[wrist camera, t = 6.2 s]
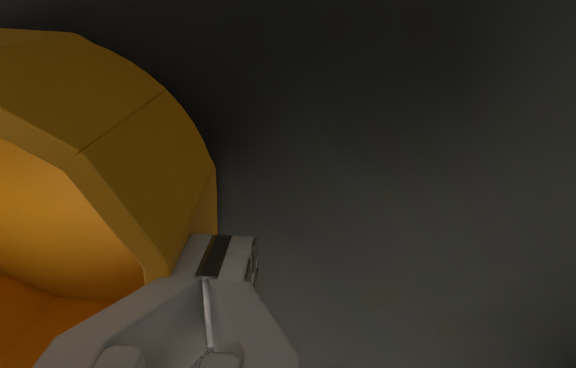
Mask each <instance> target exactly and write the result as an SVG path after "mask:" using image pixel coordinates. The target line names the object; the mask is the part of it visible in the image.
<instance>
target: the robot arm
mask: <svg viewBox="0 0 576 368" xmlns="http://www.w3.org/2000/svg"><path fill="white" fill-rule="evenodd" d="M257 256H258V240H257V238H256V237H254V236H232V235H220V234H207V233H192V234H190V236H189V238H188V240H187V242H186V244H185V246H184V248H183V250H182V252H181V254H180V257H179V259H178V261H177V263H176V265H175V267H174V269H173V271H172V274H171V276H169V277H159V278H157V279H155V280H154V281H152V282H150V283H148V284H147V285H145V286H143V287H141V288H140V289H138V290H136V291H135V292H133V293H131V294H129V295H128V296H126V297H124V298H122V299H121V300H119V301H117V302H115V303H114V304H112V305H110V306H109V307H107V308H105V309H103V310H102V311H100V312H98V313H96V314H95V315H93V316H91V317H90V318H88V319H86V320H84V321H83V322H81V323H79V324H77V325H76V326H74V327H72V328H70V329H69V330H67V331H65V332H64V333H62V334H60V335H58V336H57V337H55V338H54V339H53V340H52V342H51V343H50V344H49V346H48V347H47V348H46V350H45V351H44V352H43V354H42V355H41V356H40V357H39V359H38V360H37V361H36V363H35V364H34V365H33V367H32V368H189V367H190V366H191V365H192V364H193V363H194V362H195V361H196V360H197V359H198V358H199V357H200V356H201V355H202V354H203V353H204V352H205V351H206V350H207V347H210V348H213V349H214V352H210V353H208V354H207V355H205V356H204V357H202V360H201V363H200V366H199V368H300V355H299V354H298V352H297V351H296V349H295V348H294V346H293V345H292V343H291V342H290V340H289V339H288V338H287V336H286V335H285V333H284V332H283V330H282V329H281V327H280V326H279V324H278V323H277V321H276V320H275V318H274V317H273V315H272V314H271V312H270V311H269V309H268V308H267V306H266V305H265V303H264V302H263V300H262V299H261V297H260V296H259V294H258V293H257V286H258V269H257V267H256V261H257Z"/></svg>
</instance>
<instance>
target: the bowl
mask: <svg viewBox="0 0 576 368" xmlns="http://www.w3.org/2000/svg"><path fill="white" fill-rule="evenodd" d="M214 166H215V164H214V163H213V161H212V160H211V158H210V156H209V153H208V150H207V148H206V145H205V143H204V141H203V139H202V137H201V135H200V133H199V132H198V130H197V128H196V126H195V124H194V123H193V121H192V120H191V119H190V117H189V116H188V114H187V113H186V112H185V110H184V109H183V107H182V106H181V105H180V104H179V103H178V102H177V101H176V99H175V98H174V97H173V96H172V95H171V94H170V93H169V92H168V90H166V89H165V87H164V86H162V85H161V84H160V83H158V82H157V81H156V80H155V79H154V78H153V77H152V76H151V75H149V74H148V73H147V72H145V71H144V70H142V69H141V68H139V67H138V66H136V65H135V64H134V63H132V62H131V61H129V60H127V59H125V58H124V57H122V56H120V55H118V54H116V53H114V52H113V51H111V50H109V49H106V48H104V47H101V46H99V45H96V44H94V43H92V42H90V41H89V40H87V39H85V38H84V37H82V36H80V35H79V34H75V33H73V32H57V31H40V30H24V29H8V28H0V368H32V367H33V365H34V364H35V363H36V361H37V360H38V359H39V357H40V356H41V355H42V354H43V352H44V351H45V350H46V348H47V347H48V346H49V344H50V343H51V342H52V340H53V339H54V338H55V337H57V336H58V335H60V334H62V333H64V332H65V331H67V330H69V329H70V328H72V327H74V326H76V325H77V324H79V323H81V322H83V321H84V320H86V319H88V318H90V317H91V316H93V315H95V314H96V313H98V312H100V311H102V310H103V309H105V308H107V307H109V306H110V305H112V304H114V303H115V302H117V301H119V300H121V299H122V298H124V297H126V296H128V295H129V294H131V293H133V292H135V291H136V290H138V289H140V288H141V287H143V286H145V285H147V284H148V283H150V282H152V281H154V280H155V279H157V278H159V277H169V276H171V274H172V271H173V269H174V267H175V265H176V263H177V261H178V259H179V257H180V254H181V252H182V250H183V248H184V246H185V244H186V242H187V240H188V238H189V236H190V234H192V233H207V234H218V228H217V187H216V168H215V167H214Z"/></svg>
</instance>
